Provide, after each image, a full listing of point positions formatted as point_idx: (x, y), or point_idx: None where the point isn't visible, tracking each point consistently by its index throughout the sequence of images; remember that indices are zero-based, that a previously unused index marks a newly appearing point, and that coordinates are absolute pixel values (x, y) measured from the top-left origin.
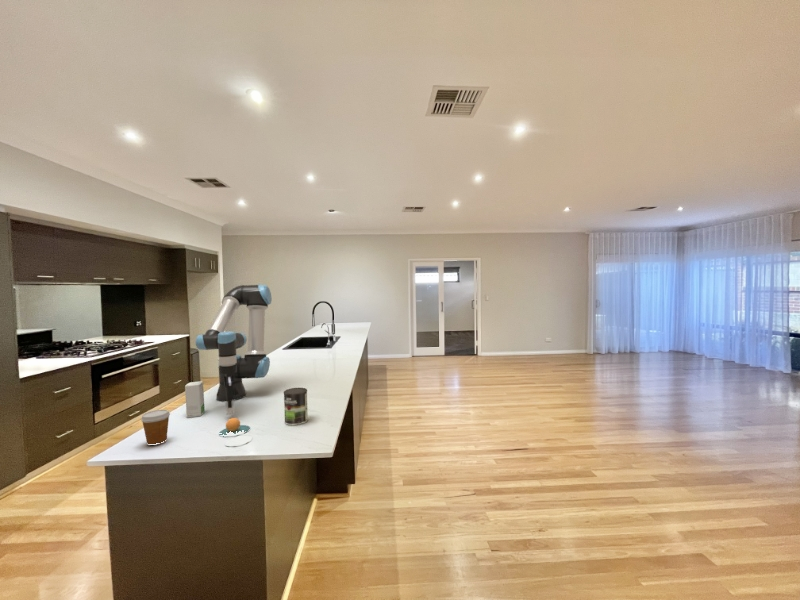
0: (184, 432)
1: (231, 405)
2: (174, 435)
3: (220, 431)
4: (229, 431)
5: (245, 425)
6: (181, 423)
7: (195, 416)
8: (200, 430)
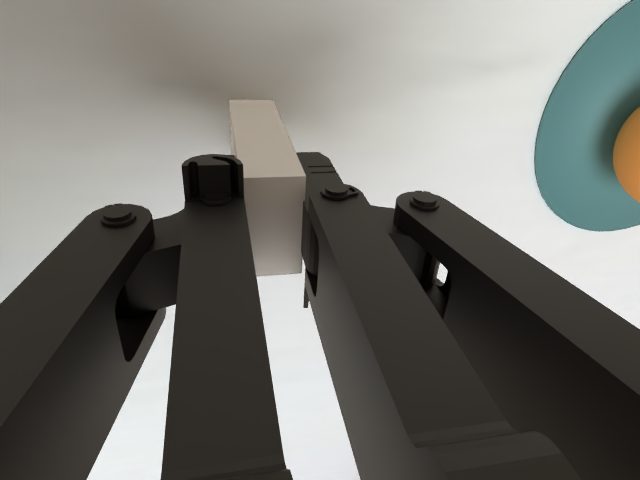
0: None
1: (334, 168)
2: None
3: (567, 221)
4: None
5: (634, 5)
6: (159, 451)
7: None
8: None
